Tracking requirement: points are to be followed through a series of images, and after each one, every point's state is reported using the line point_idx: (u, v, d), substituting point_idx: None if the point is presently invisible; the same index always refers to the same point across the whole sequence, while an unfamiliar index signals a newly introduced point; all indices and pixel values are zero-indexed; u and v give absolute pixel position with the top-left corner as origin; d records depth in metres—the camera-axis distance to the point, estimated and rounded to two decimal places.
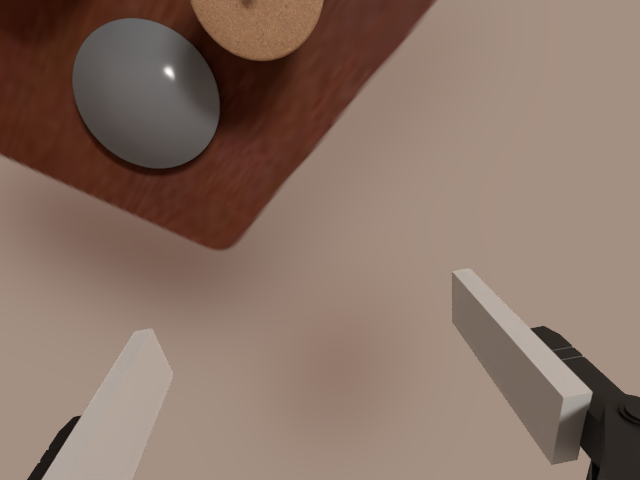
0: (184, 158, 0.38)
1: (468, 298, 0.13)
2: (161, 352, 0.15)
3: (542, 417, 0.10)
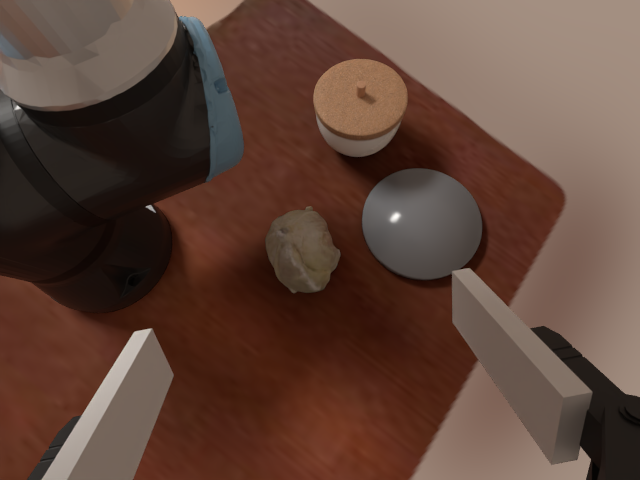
0: (472, 203, 0.41)
1: (468, 298, 0.13)
2: (161, 352, 0.15)
3: (542, 417, 0.10)
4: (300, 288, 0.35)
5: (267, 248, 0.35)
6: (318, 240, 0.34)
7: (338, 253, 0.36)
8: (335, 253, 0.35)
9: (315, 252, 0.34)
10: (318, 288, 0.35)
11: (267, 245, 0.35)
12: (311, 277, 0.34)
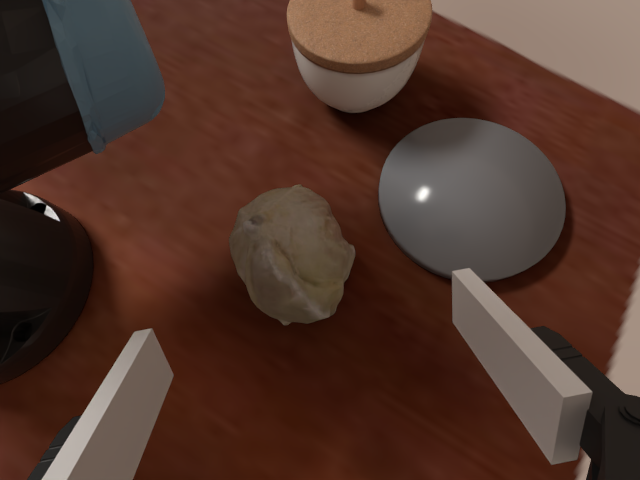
0: (541, 159, 0.28)
1: (468, 298, 0.13)
2: (161, 352, 0.15)
3: (542, 417, 0.10)
4: (295, 318, 0.20)
5: (233, 255, 0.21)
6: (317, 231, 0.19)
7: (353, 252, 0.22)
8: (347, 253, 0.21)
9: (315, 253, 0.19)
10: (326, 315, 0.20)
11: (232, 250, 0.21)
12: (312, 297, 0.19)
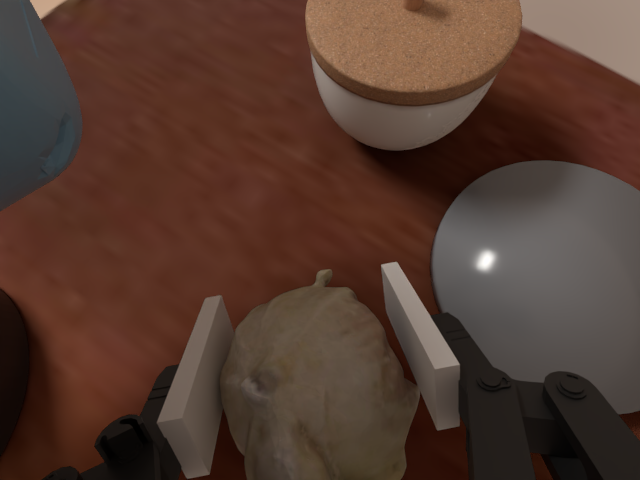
0: None
1: (390, 288, 0.15)
2: (228, 317, 0.16)
3: (429, 389, 0.11)
4: None
5: (225, 411, 0.13)
6: (371, 393, 0.11)
7: (418, 398, 0.14)
8: (413, 408, 0.13)
9: (367, 433, 0.11)
10: None
11: (223, 405, 0.13)
12: None
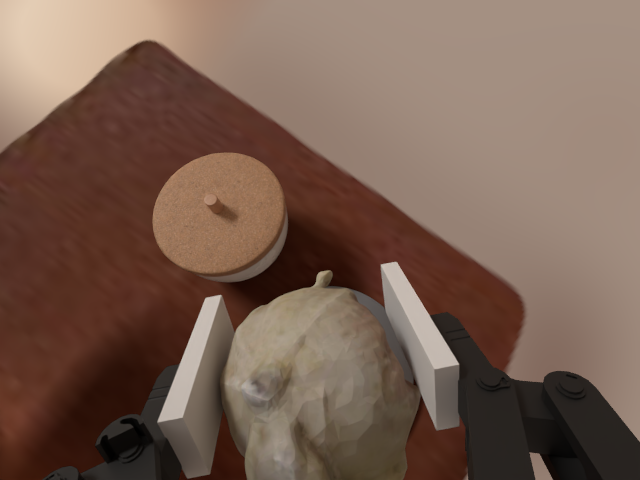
0: None
1: (389, 288, 0.15)
2: (228, 317, 0.16)
3: (428, 389, 0.11)
4: None
5: None
6: (371, 395, 0.11)
7: (419, 400, 0.13)
8: (414, 410, 0.13)
9: (367, 435, 0.11)
10: None
11: (224, 407, 0.12)
12: None
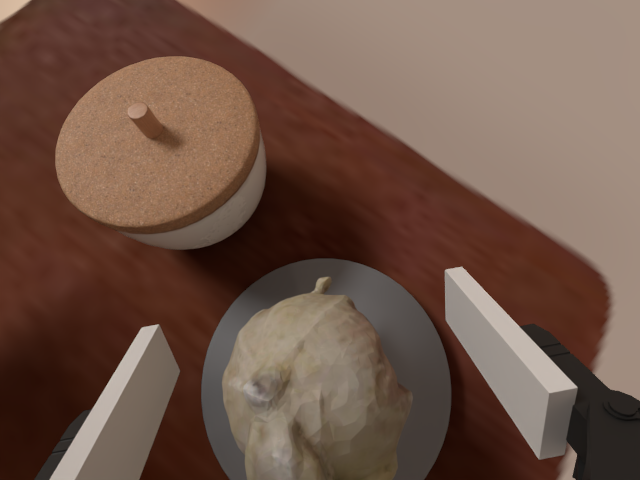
0: (426, 327, 0.20)
1: (460, 296, 0.14)
2: (168, 348, 0.15)
3: (530, 413, 0.10)
4: None
5: (227, 411, 0.13)
6: (365, 398, 0.12)
7: (411, 403, 0.14)
8: (406, 412, 0.13)
9: (360, 436, 0.12)
10: None
11: (226, 405, 0.13)
12: None
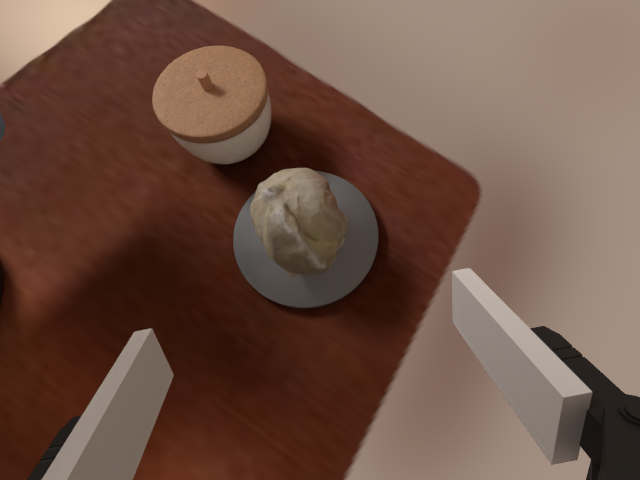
0: (366, 207, 0.34)
1: (468, 298, 0.13)
2: (161, 352, 0.15)
3: (542, 417, 0.10)
4: (299, 266, 0.26)
5: (253, 218, 0.27)
6: (318, 200, 0.26)
7: (345, 220, 0.28)
8: (341, 219, 0.27)
9: (316, 216, 0.25)
10: (323, 265, 0.27)
11: (252, 214, 0.27)
12: (313, 249, 0.25)
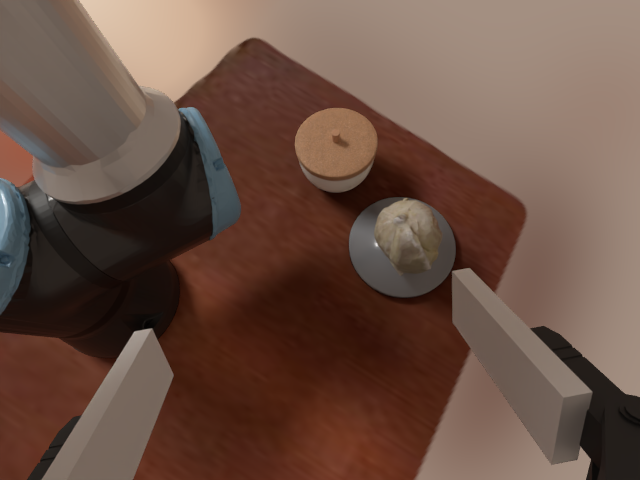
0: (444, 224, 0.47)
1: (468, 298, 0.13)
2: (161, 352, 0.15)
3: (542, 417, 0.10)
4: (415, 268, 0.39)
5: (381, 235, 0.40)
6: (430, 224, 0.38)
7: None
8: (441, 236, 0.40)
9: (428, 234, 0.38)
10: (430, 267, 0.39)
11: (381, 232, 0.40)
12: (427, 256, 0.38)
